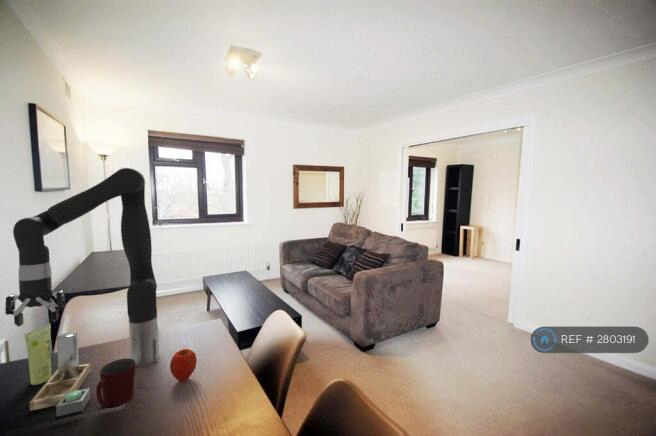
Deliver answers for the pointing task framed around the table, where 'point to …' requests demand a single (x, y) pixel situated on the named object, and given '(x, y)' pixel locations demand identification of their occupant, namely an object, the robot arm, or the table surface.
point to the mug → (116, 382)
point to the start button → (74, 396)
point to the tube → (39, 354)
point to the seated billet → (68, 356)
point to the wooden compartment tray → (58, 389)
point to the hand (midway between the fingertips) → (37, 323)
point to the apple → (183, 364)
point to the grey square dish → (72, 404)
